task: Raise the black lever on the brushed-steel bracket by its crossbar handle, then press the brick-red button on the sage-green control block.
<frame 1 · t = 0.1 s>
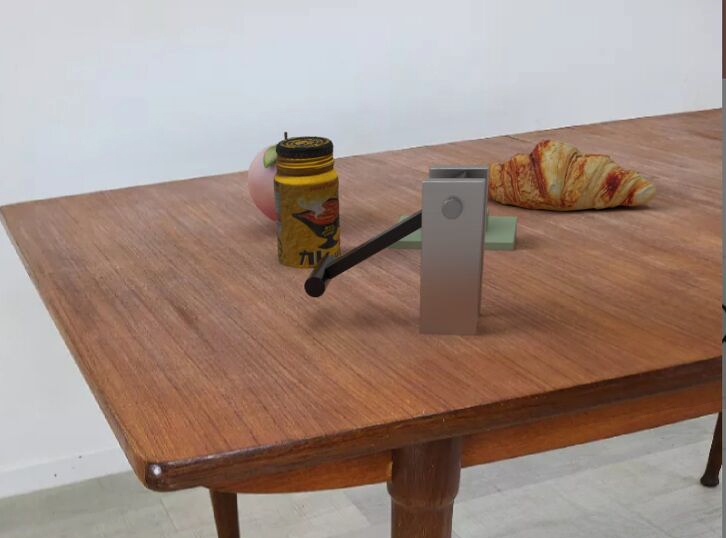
bracket: (449, 340, 76), on the table
control block: (453, 250, 96), on the table
condiment: (301, 274, 92), on the table
lever: (389, 237, 73), point 8 cm above the table, hinge at -30.0°
button: (455, 204, 93), point 4 cm above the table, slide at 0.1 cm
croissant: (556, 206, 108), on the table
decorative fruit: (288, 230, 105), on the table
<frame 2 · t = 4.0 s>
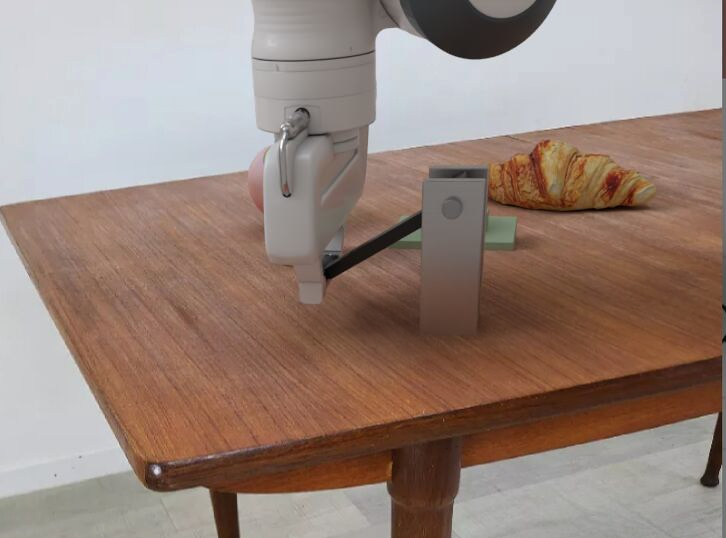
hand: (322, 286, 76), 4 cm above the table, tool pointing down, fingers closed on lever, 5 cm apart
lever: (389, 237, 73), point 8 cm above the table, hinge at -30.1°, touching gripper
everything else where it was.
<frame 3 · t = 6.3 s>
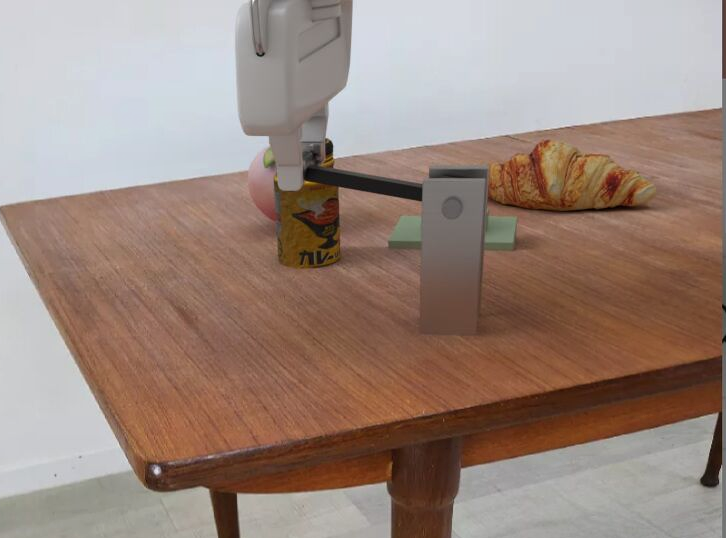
hand: (303, 177, 72), 13 cm above the table, tool pointing down, fingers closed on lever, 5 cm apart
lever: (380, 185, 71), point 12 cm above the table, hinge at 9.4°, touching gripper
everything else where it was.
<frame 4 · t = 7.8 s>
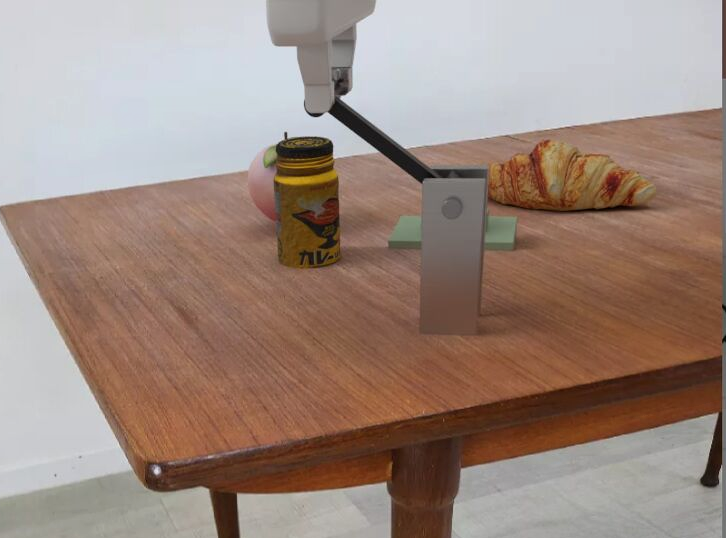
hand: (330, 102, 68), 18 cm above the table, tool pointing down, fingers closed on lever, 5 cm apart
lever: (393, 151, 69), point 14 cm above the table, hinge at 35.5°, touching gripper
everything else where it was.
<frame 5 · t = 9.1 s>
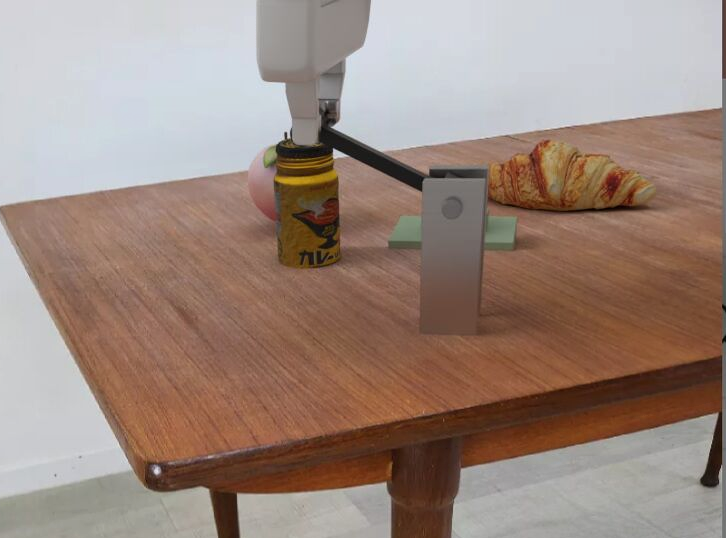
hand: (317, 134, 70), 16 cm above the table, tool pointing down, fingers closed on lever, 5 cm apart
lever: (386, 164, 70), point 13 cm above the table, hinge at 24.8°, touching gripper
everything else where it was.
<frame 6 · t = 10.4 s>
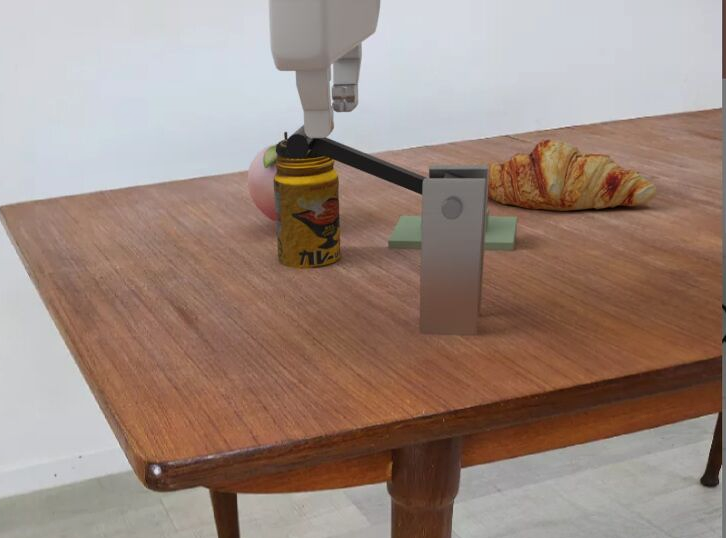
hand: (333, 122, 69), 16 cm above the table, tool pointing down, fingers open, 8 cm apart
lever: (384, 170, 70), point 13 cm above the table, hinge at 20.6°
everything else where it was.
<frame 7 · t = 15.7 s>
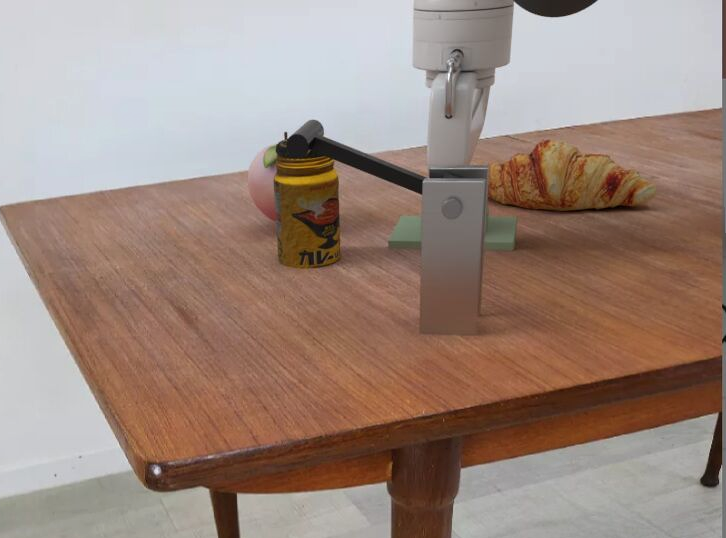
hand: (454, 202, 93), 5 cm above the table, tool pointing down, fingers closed, pressing on button
button: (455, 212, 93), point 4 cm above the table, slide at -0.6 cm, touching gripper
everything else where it was.
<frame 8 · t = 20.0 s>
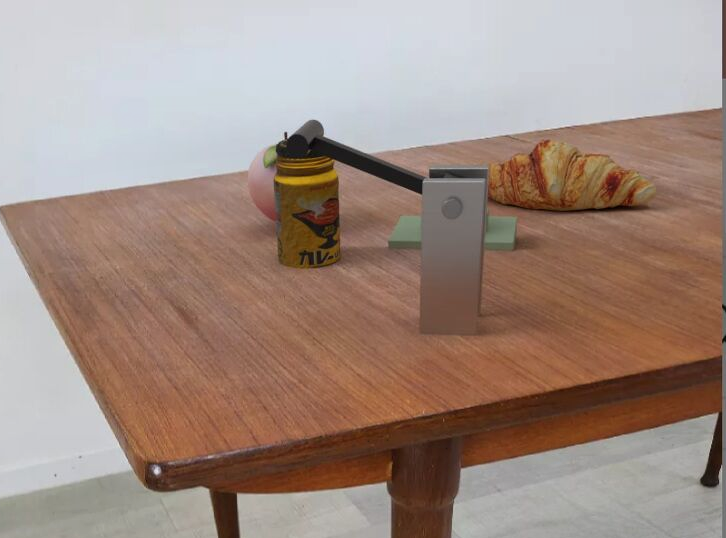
button: (455, 204, 93), point 4 cm above the table, slide at 0.1 cm
everything else where it was.
at the end: lever reached +36° during the clip, +21° at the end; lever at +21° (first picture: -30°); button pushed in 1.1 cm at the most during the clip, back to where it started at the end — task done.
